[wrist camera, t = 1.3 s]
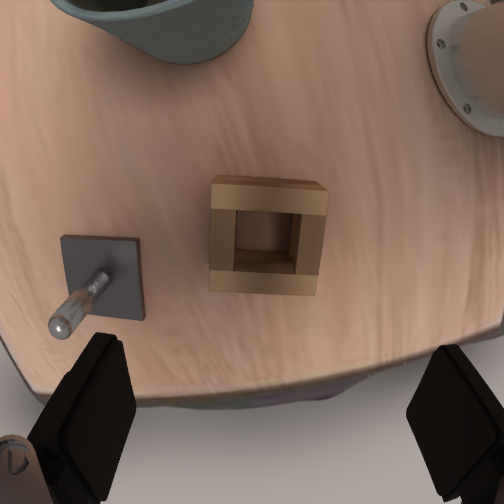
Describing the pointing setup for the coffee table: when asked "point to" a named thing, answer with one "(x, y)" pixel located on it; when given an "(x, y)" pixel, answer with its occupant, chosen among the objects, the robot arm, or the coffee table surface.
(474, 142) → the coffee table surface
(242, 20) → the teal cup
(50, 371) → the coffee table surface
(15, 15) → the coffee table surface
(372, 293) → the coffee table surface
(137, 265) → the peg stand
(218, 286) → the square wooden ring
